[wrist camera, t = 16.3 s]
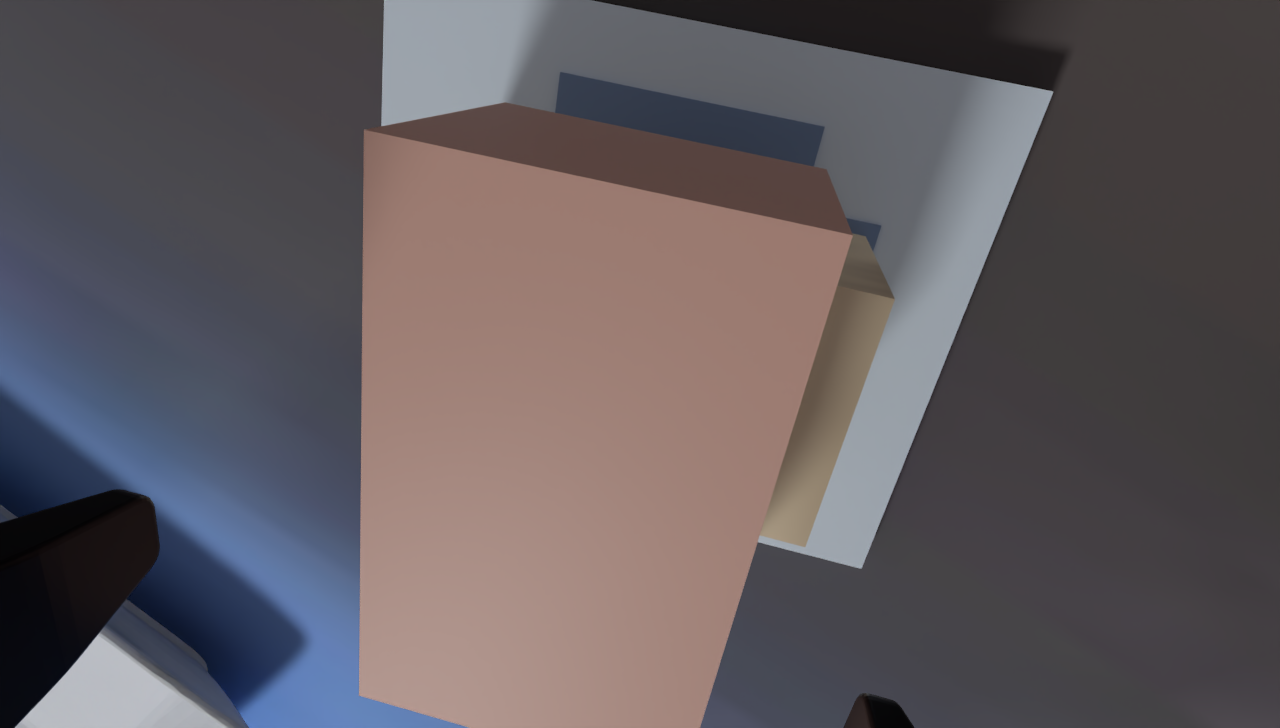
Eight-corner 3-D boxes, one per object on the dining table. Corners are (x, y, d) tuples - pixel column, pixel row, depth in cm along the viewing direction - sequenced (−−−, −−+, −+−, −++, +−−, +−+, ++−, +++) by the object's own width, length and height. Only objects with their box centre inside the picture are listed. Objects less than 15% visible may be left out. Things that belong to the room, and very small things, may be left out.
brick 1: (504, 101, 13) (363, 129, 9) (826, 169, 13) (852, 235, 8) (467, 529, 17) (359, 695, 13) (706, 592, 17) (681, 788, 12)
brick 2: (866, 236, 18) (895, 299, 13) (799, 437, 20) (805, 547, 16) (487, 150, 19) (394, 182, 14) (468, 354, 21) (385, 436, 17)
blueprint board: (1041, 89, 17) (1055, 92, 16) (858, 552, 23) (861, 570, 22) (400, -37, 18) (382, -42, 17) (386, 430, 24) (372, 444, 23)
